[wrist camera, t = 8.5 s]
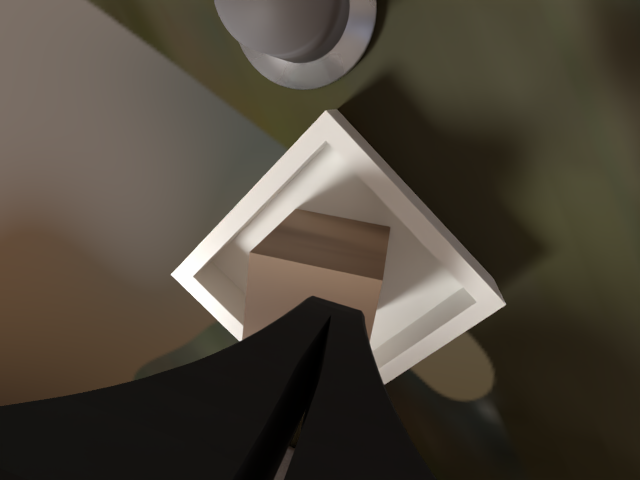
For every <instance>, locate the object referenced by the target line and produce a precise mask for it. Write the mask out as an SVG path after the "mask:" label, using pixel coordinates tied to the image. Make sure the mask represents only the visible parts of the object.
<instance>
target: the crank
mask: <svg viewBox="0 0 640 480" xmlns="http://www.w3.org/2000/svg"><path fill="white" fill-rule="evenodd" d="M214 2H215V6H216V9H217V12H218V14H219V16H220V18H221V21H222V22H223V24H224V25H225V27H226V29H227V30H228V31H229V32H230V34H231V35H232V36H233V37H234V38H235V39H236V40H237V41H239V42H240V43H242V44H243V45H244V46H246V47H248V48H250V49H252V50H255V51H258V52H261V53H264V54H267V55H270V56H273V57H276V58H279V59H282V60H285V61H288V62H292V63H308V62H312V61H315V60H318V59H320V58H322V57H323V56H325V55H326V54H327V53H329V52H330V51H331V50H332V49H333V48H334V47H335V46H336V44H337V43H338V42H339V40H340V39H341V37H342V35H343V33H344V31H345V29H346V26H347V22H348V18H349V10H350V0H214Z"/></svg>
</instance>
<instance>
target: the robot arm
mask: <svg viewBox="0 0 640 480" xmlns="http://www.w3.org/2000/svg"><path fill="white" fill-rule="evenodd" d="M305 409H306V410H305ZM304 412H305V415H304V419H303V424H302V428H301V433H300V436H299V439H298V442H297V445H296V447H295V450H294V453H293V456H292V458H291V461H290V464H289V467H288V469H287V472H286V475H285V478H284V480H437V479H436V478H435V476H434V475H433V473H432V472H431V470H430V469H429V467H428V466H427V464H426V463H425V462H424V460H423V459H422V457H421V456H420V454H419V452H418V451H417V449H416V447H415V446H414V444H413V442H412V440H411V439H410V437H409V435H408V433H407V431H406V430H405V428H404V426H403V424H402V422H401V420H400V418H399V416H398V414H397V412H396V410H395V408H394V406H393V404H392V402H391V400H390V397H389V395H388V393H387V390H386V388H385V386H384V383H383V381H382V378H381V376H380V373H379V370H378V367H377V364H376V361H375V358H374V355H373V352H372V349H371V346H370V342H369V338H368V334H367V330H366V324H365V316H364V314H363V312H362V311H361V310H358V309H355V308H351V307H348V306H345V305H342V304H338V303H335V302H332V301H329V300H325V299H322V298H319V297H316V296H310V297H308V298H307V299H305V300H304V301H303V302H301V303H300V304H299V305H297V306H296V307H295V308H293V309H292V310H290V311H289V312H288V313H286V314H285V315H283V316H282V317H280V318H279V319H277V320H275V321H274V322H272V323H271V324H269V325H268V326H266V327H264V328H263V329H261V330H259V331H258V332H256V333H254V334H252V335H250V336H248V337H247V338H245V339H243V340H241V341H239V342H237V343H235V344H234V345H232V346H229V347H227V348H225V349H223V350H221V351H219V352H217V353H214V354H212V355H210V356H207V357H205V358H202V359H200V360H197V361H195V362H192V363H189V364H186V365H183V366H180V367H177V368H174V369H171V370H168V371H164V372H161V373H158V374H155V375H152V376H149V377H146V378H142V379H138V380H135V381H131V382H127V383H123V384H119V385H115V386H111V387H107V388H102V389H97V390H92V391H88V392H83V393H78V394H73V395H68V396H63V397H57V398H50V399H44V400H38V401H31V402H25V403H19V404H12V405H6V406H0V480H274V478H275V476H276V474H277V471H278V469H279V467H280V465H281V463H282V460H283V458H284V456H285V454H286V452H287V449H288V447H289V445H290V443H291V441H292V438H293V436H294V434H295V432H296V429H297V427H298V425H299V423H300V421H301V418H302V416H303V414H304Z"/></svg>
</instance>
